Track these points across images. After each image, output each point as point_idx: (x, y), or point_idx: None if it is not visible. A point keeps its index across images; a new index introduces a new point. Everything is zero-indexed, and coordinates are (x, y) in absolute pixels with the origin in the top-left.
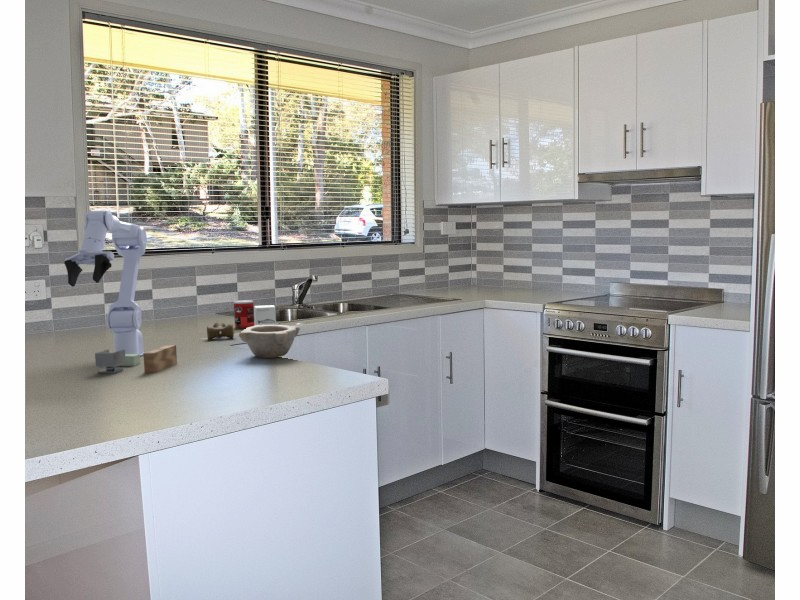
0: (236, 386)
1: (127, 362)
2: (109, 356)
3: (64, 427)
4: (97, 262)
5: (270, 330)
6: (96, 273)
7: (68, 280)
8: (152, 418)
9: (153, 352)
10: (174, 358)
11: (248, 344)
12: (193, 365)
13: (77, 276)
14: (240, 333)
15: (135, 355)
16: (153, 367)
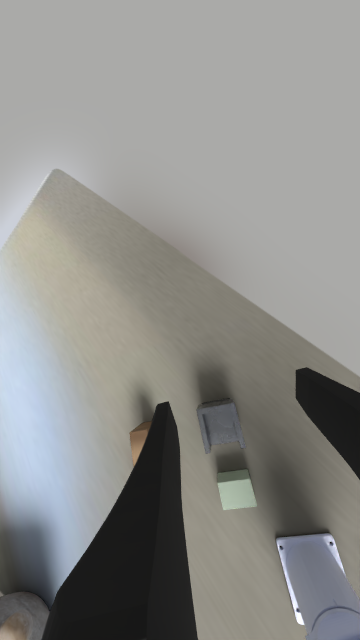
0: (5, 377)
1: (231, 474)
2: (205, 407)
3: (80, 209)
4: (130, 511)
5: None
6: (150, 432)
7: (316, 372)
8: (29, 253)
9: (134, 441)
10: None
11: (32, 619)
12: (117, 497)
13: (358, 474)
14: (15, 630)
15: (219, 491)
16: (139, 425)
